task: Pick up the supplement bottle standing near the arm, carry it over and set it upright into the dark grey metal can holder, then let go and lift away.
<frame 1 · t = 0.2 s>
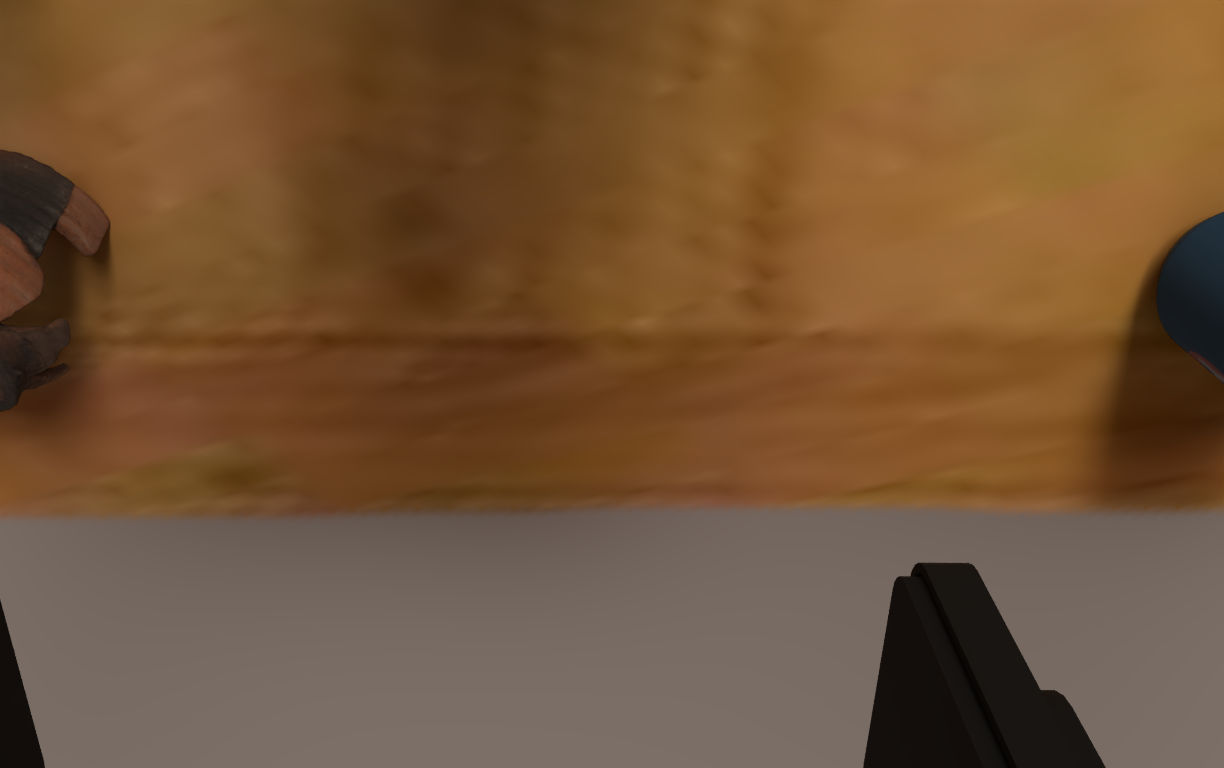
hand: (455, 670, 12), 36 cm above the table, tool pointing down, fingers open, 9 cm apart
soda can: (1220, 270, 49), on the table
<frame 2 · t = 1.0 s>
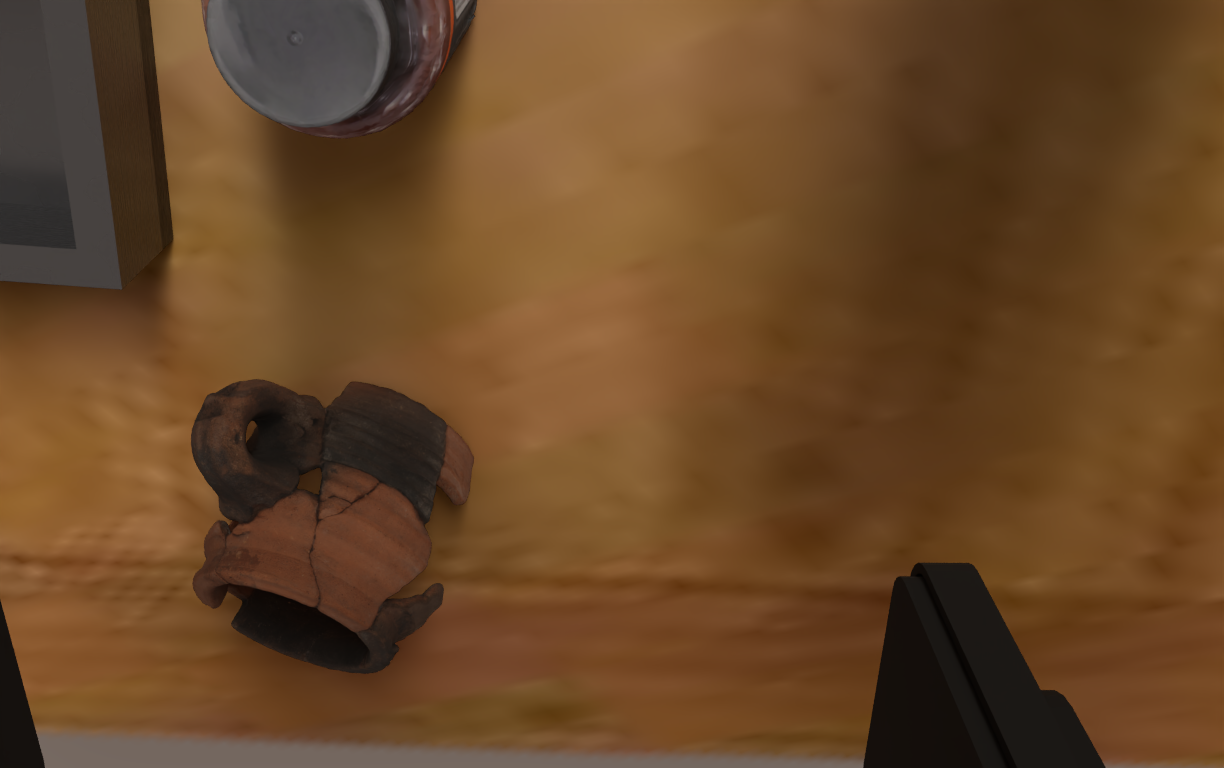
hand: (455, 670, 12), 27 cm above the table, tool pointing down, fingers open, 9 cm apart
pottery mug: (339, 464, 42), on the table
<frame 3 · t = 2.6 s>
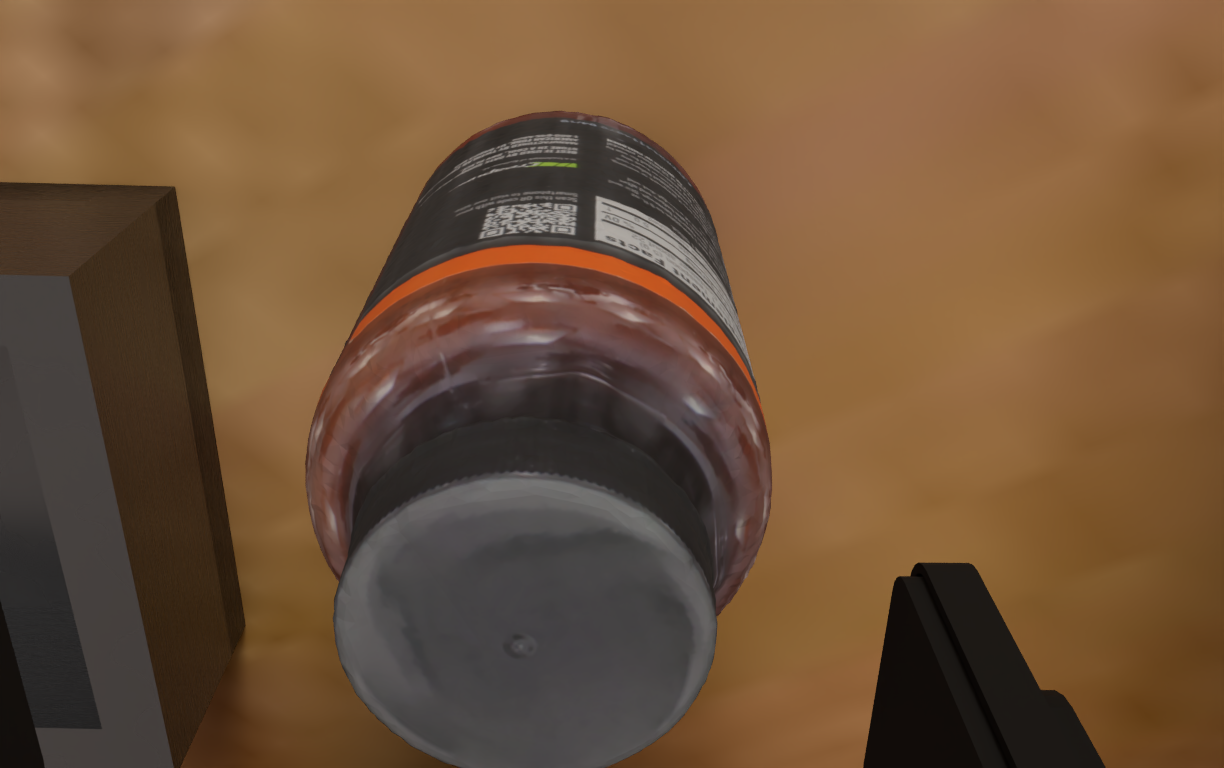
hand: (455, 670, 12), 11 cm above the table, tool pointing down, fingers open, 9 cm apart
supplement bottle: (565, 252, 22), on the table
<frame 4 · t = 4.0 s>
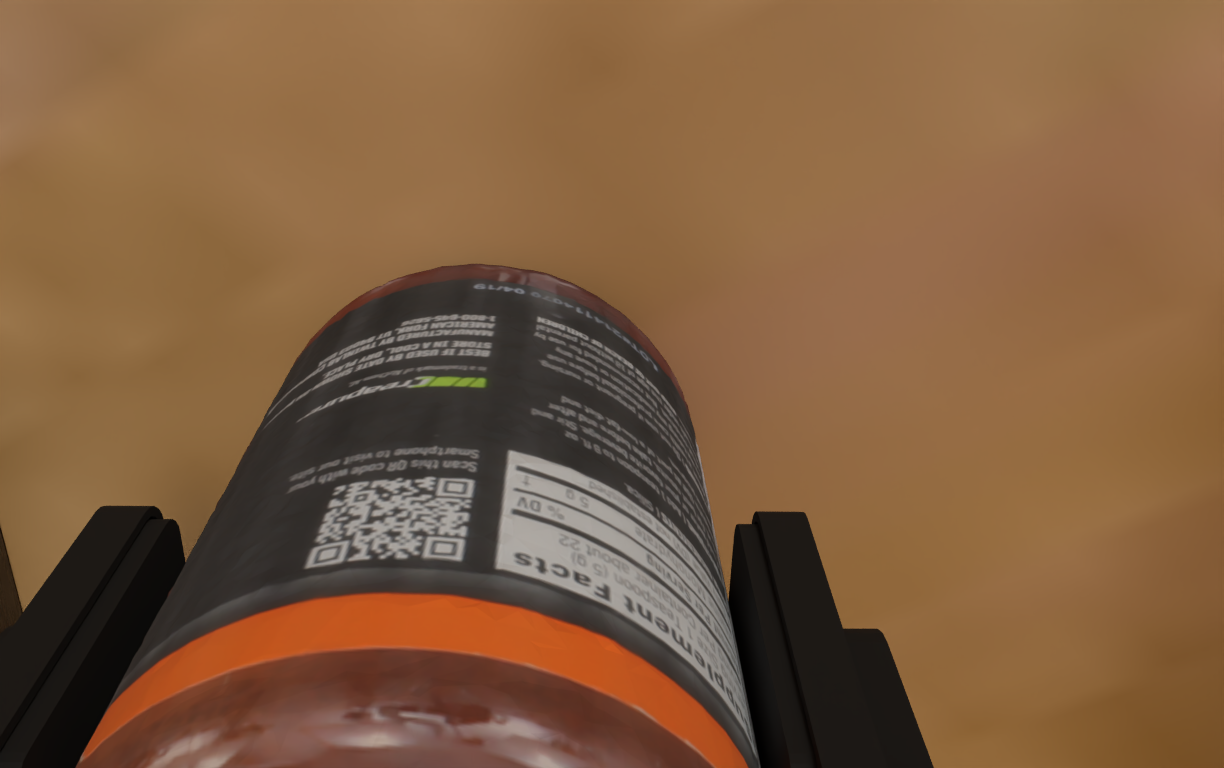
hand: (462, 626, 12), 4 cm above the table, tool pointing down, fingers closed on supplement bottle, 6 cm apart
supplement bottle: (492, 436, 16), on the table, touching gripper
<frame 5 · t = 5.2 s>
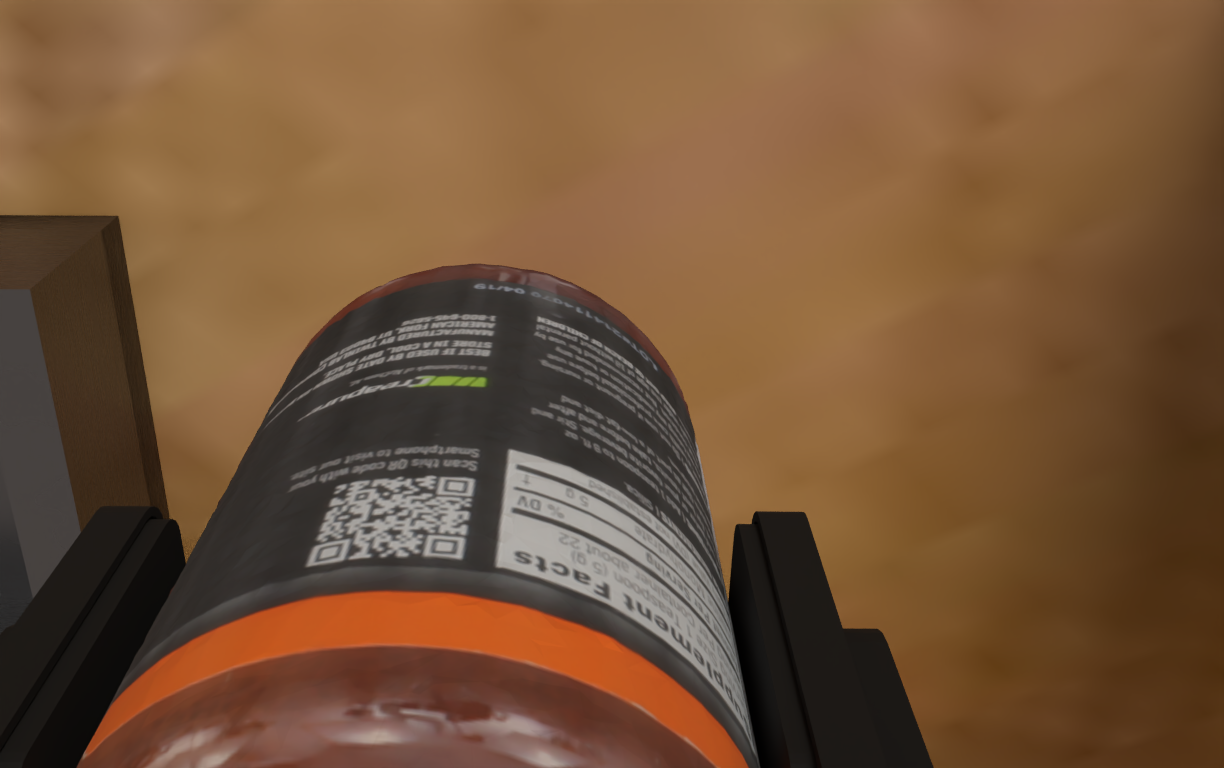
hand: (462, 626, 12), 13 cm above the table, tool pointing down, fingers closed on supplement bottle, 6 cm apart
supplement bottle: (492, 436, 16), point 9 cm above the table, touching gripper
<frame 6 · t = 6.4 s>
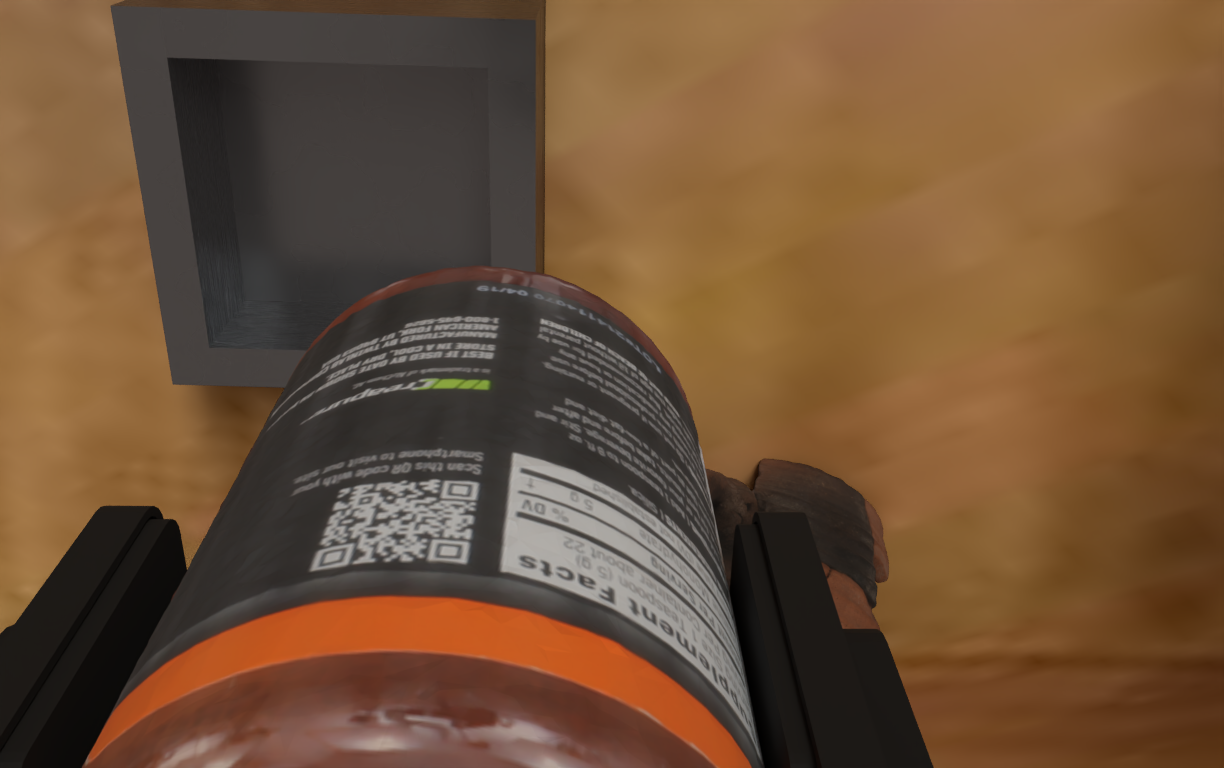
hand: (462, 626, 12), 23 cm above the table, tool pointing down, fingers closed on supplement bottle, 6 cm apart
supplement bottle: (495, 438, 16), point 19 cm above the table, touching gripper
pottery mug: (737, 543, 40), on the table
can holder: (372, 168, 34), on the table
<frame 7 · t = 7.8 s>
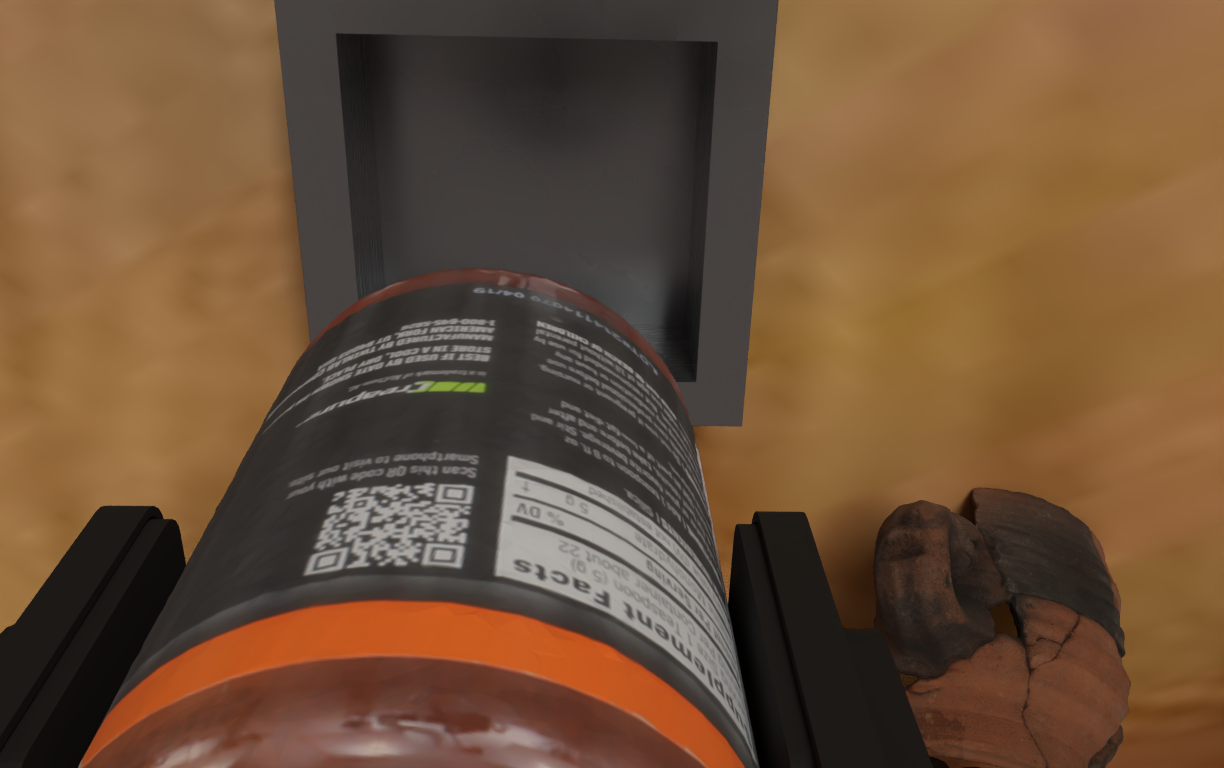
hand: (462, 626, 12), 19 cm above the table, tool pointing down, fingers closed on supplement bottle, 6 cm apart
supplement bottle: (492, 440, 16), point 14 cm above the table, touching gripper
pottery mug: (936, 582, 36), on the table
can holder: (537, 166, 29), on the table
when the fingers open (7 cm above the table, at t = 10.2 s): supplement bottle drops 2 cm, resting on can holder.
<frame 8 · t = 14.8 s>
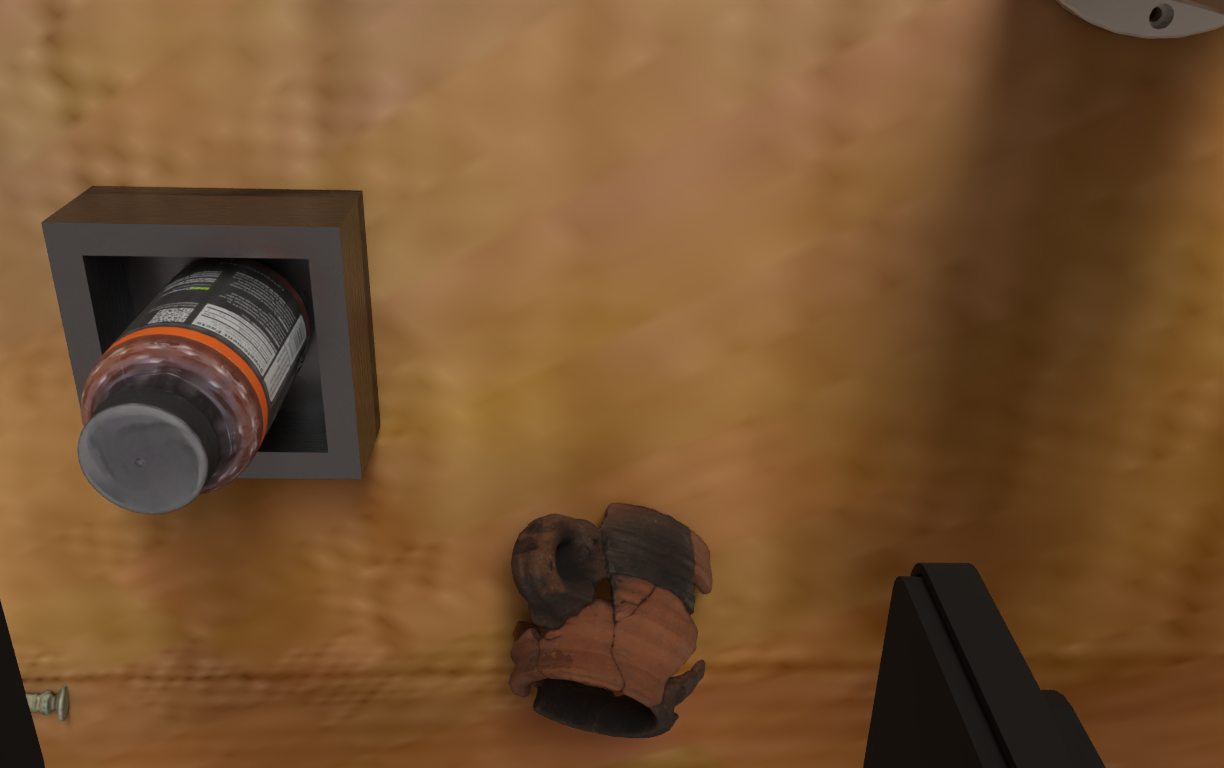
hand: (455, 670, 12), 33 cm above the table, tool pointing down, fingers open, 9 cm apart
supplement bottle: (241, 318, 45), point 1 cm above the table, touching can holder
pottery mug: (599, 568, 52), on the table
can holder: (244, 312, 46), on the table
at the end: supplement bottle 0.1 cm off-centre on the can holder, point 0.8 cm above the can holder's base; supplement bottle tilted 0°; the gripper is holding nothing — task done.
